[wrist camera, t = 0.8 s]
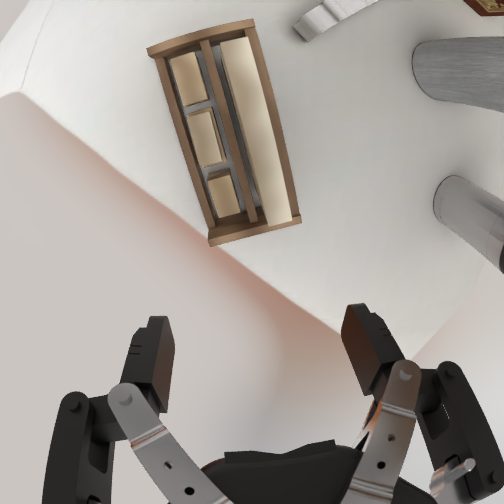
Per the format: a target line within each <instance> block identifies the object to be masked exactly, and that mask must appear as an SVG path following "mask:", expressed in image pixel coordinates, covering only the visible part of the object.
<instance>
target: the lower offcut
mask: <svg viewBox="0 0 504 504" xmlns="http://www.w3.org/2000/svg"><path fill="white" fill-rule="evenodd" d="M209 111H210V112H211V116H212V120H213V124H214V128H215V132H216V135H217V139H218V143H219V147H220V151H221V155H222V162H218V163H214V164H210V165H206V166H204V168H205V167H209V166H212V165H216V164H219V163H223V162H227V161H226V154H225V151H224V147H223V144H222V140H221V137H220V133H219V129H218V126H217V122H216V119H215V115H214V112H213V108H212V107H210V108H206V109H203V110H199V111H196V112H193V113H190V114H188V116H189V117H191V116H194V115H198V114H201V113H205V112H209Z"/></svg>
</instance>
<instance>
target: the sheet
mask: <svg viewBox="0 0 504 504" xmlns="http://www.w3.org/2000/svg"><path fill="white" fill-rule="evenodd" d="M220 50H221V62H222V66H223V69H224V73H225V77H226V80H227V84H228V87H229V91H230V94H231V98H232V102H233V105H234V109H235V113H236V116H237V120H238V124H239V127H240V131H241V135H242V138H243V142H244V146H245V150H246V153H247V157H248V161H249V165H250V169H251V173H252V176H253V180H254V184H255V188H256V191H257V194H258V197H259V200H260V203H261V206H262V209H263V211H264V214H265V217H266V220H267V223H268V226H269V227H270V226H274V225H277V224H281V223H285V222H289V221H292V216H291V211H290V206H289V201H288V196H287V191H286V187H285V182H284V177H283V173H282V168H281V164H280V159H279V155H278V151H277V146H276V142H275V138H274V134H273V129H272V125H271V121H270V117H269V113H268V109H267V105H266V101H265V97H264V94H263V90H262V86H261V82H260V78H259V75H258V71H257V67H256V64H255V60H254V57H253V53H252V50H251V46H250V43H249V39H248V37H244V38H239V39H234V40H230V41H225V42H221V43H220Z"/></svg>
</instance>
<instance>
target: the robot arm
mask: <svg viewBox="0 0 504 504" xmlns="http://www.w3.org/2000/svg"><path fill="white" fill-rule="evenodd" d="M434 212H435V215H436V217H437V219H438V220H439V221H441V222H442V223H443V224H445V225H446V226H447V227H449V228H450V229H451V230H452V231H454V232H455V233H456V234H457V235H459V236H460V237H461V238H463V239H464V240H465V241H466V242H468V243H469V244H470V245H471V246H472V247H474V248H475V249H476V250H477V251H478V252H480V253H481V254H482V255H483V256H484V257H485V258H487V259H488V260H489V261H490V262H491V263H492V264H493V265H495V266H496V267H497V268H498V269H499V270H500V271H501V272H502V273H503V274H504V201H503V200H501V199H500V198H498V197H496V196H495V195H493V194H491V193H489V192H488V191H486V190H484V189H482V188H480V187H478V186H477V185H475V184H473V183H471V182H469V181H466V180H464V179H462V178H460V177H458V176H450V177H448V178H446V179H445V180H444V181H443V182H442V183H441V184H440V186H439V188H438V190H437V192H436V195H435V198H434ZM341 338H342V342H343V344H344V346H345V349H346V351H347V354H348V356H349V359H350V361H351V363H352V366H353V369H354V371H355V374H356V376H357V379H358V381H359V384H360V386H361V389H362V392H363V394H364V396H367V395H371V394H373V396H374V400H373V402H372V405H371V407H370V410H369V412H368V415H367V417H366V420H365V422H364V425H363V427H362V430H361V432H360V434H359V436H358V438H357V439H356V441H355V443H354V444H353V446H352V448H351V447H347V446H340V445H336V444H335V441H334V440H328V441H323V442H318V443H312V444H307V445H305V446H302V447H300V448H297V449H295V450H292V451H289V452H287V453H284V454H273V453H265V452H258V451H238V452H224V455H225V458H222V459H218V460H215V461H213V462H211V463H209V464H207V465H205V466H204V467H202V468H201V469H199V467H198V466H197V465H196V464H195V463H194V462H193V460H192V459H191V458H190V457H189V456H188V455H187V453H186V452H185V451H184V450H183V448H181V446H180V445H179V443H178V442H177V441H176V440H175V439H174V437H173V436H172V435H171V433H170V432H169V431H168V429H167V428H166V427H165V426H164V425H163V424H162V422H161V421H160V419H159V413H167V409H168V399H169V392H170V383H171V375H172V368H173V360H174V354H175V343H174V338H173V335H172V331H171V327H170V323H169V320H168V317H167V316H150V318H149V321H148V324H147V328H139V329H138V330H137V331H136V333H135V334H134V335H133V337H132V341H131V344H130V347H129V351H128V355H127V358H126V361H125V365H124V369H123V373H122V376H121V380H120V383H119V384H118V385H116V386H115V387H113V388H112V389H111V390H110V392H109V394H107V395H104V396H98V397H93V398H88V397H87V396H86V395H85V394H83V393H81V392H71V393H69V394H67V395H66V396H65V397H64V398H63V399H62V401H61V404H60V407H59V411H58V415H57V419H56V423H55V427H54V431H53V436H52V441H51V445H50V450H49V456H48V461H47V467H46V473H45V480H44V487H43V496H42V504H111V487H112V472H113V460H114V449H115V441H120V440H126V439H128V440H129V441H130V443H131V448H132V450H133V451H134V453H135V455H136V456H137V458H138V459H139V461H140V462H141V464H142V465H143V467H144V468H145V470H146V471H147V473H148V474H149V475H150V477H151V478H152V479H153V481H154V482H155V484H156V485H157V486H158V488H159V489H160V490H161V492H162V493H163V494H164V495H165V497H166V498H167V499H168V500H169V503H168V504H473V503H475V502H477V501H479V500H482V499H484V498H486V497H488V496H490V495H492V494H493V493H496V492H497V491H499V490H500V489H501V488H502V487H503V486H504V461H503V458H502V456H501V453H500V450H499V448H498V445H497V443H496V440H495V438H494V436H493V434H492V431H491V429H490V426H489V424H488V422H487V419H486V417H485V415H484V413H483V411H482V409H481V407H480V405H479V402H478V401H477V399H476V396H475V394H474V392H473V390H472V389H471V387H470V385H469V383H468V381H467V379H466V377H465V375H464V374H463V372H462V370H461V368H460V367H459V366H458V365H457V364H455V363H454V362H451V361H445V362H442V363H441V364H440V365H439V366H438V368H437V369H420V368H419V366H418V365H417V364H416V363H414V362H413V361H410V360H406V359H405V357H404V355H403V354H402V352H401V350H400V348H399V346H398V345H397V343H396V341H395V339H394V338H393V336H391V332H390V331H389V329H388V327H387V326H386V324H385V322H384V320H383V319H382V318H381V317H379V316H378V315H377V314H376V313H370V311H369V309H368V308H367V306H366V304H364V303H360V304H351V305H348V306H347V309H346V313H345V317H344V320H343V324H342V328H341ZM443 405H444V406H443ZM444 407H445V408H444ZM445 410H446V411H445ZM446 412H447V413H446ZM414 413H415V414H414ZM447 414H448V415H447ZM448 417H449V418H448ZM416 419H417V420H418V423H419V426H420V429H421V432H422V434H423V437H424V440H425V443H426V446H427V449H428V452H429V455H430V458H431V461H432V464H433V468H434V471H435V472H434V473H433V475H432V478H431V483H430V485H429V487H430V490H431V493H430V494H428V493H427V492H425V491H423V490H421V489H419V488H418V487H416V486H414V485H412V484H411V483H409V482H407V481H406V480H404V479H402V478H401V477H399V474H400V471H401V468H402V465H403V462H404V460H405V457H406V454H407V450H408V447H409V444H410V441H411V437H412V434H413V431H414V427H415V423H416Z"/></svg>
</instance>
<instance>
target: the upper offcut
mask: <svg viewBox="0 0 504 504" xmlns="http://www.w3.org/2000/svg"><path fill="white" fill-rule="evenodd" d="M187 122H188V125H189V129H190V133H191V136H192V140H193V143H194V147H195V151H196V154H197V158H198V161H199V165H200V167H203V166H206V165H210V164H214V163H218V162H222V155H221V151H220V147H219V143H218V139H217V135H216V132H215V128H214V124H213V120H212V116H211V112H210V111H209V112H205V113H201V114H198V115H194V116H191V117H187Z"/></svg>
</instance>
